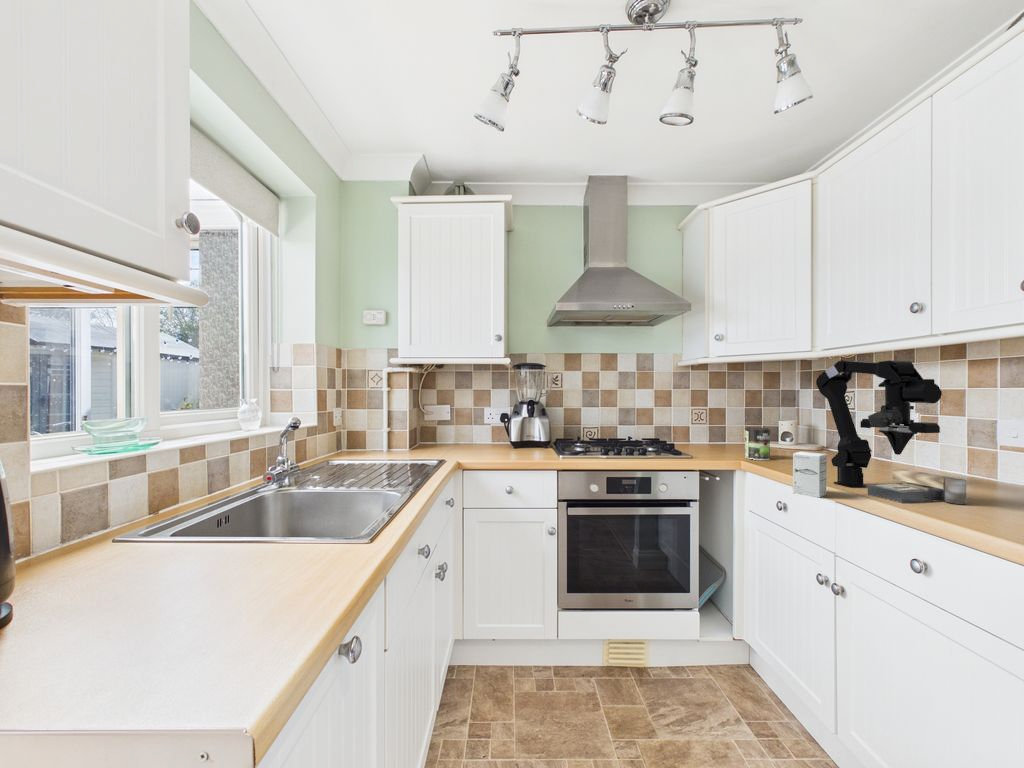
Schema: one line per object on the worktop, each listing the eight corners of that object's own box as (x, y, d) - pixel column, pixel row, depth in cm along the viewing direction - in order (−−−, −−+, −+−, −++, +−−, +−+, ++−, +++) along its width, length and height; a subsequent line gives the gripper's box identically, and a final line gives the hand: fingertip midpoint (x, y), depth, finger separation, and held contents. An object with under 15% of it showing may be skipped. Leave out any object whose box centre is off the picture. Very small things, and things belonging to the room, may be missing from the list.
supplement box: (791, 493, 137) (791, 453, 138) (800, 490, 142) (800, 450, 142) (819, 498, 132) (819, 455, 132) (827, 494, 137) (827, 453, 137)
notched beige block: (970, 503, 125) (970, 480, 125) (958, 504, 124) (958, 481, 124) (903, 489, 142) (903, 469, 142) (892, 490, 141) (892, 469, 141)
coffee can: (775, 460, 200) (775, 429, 201) (755, 461, 198) (755, 429, 198) (758, 456, 211) (758, 427, 211) (739, 457, 208) (739, 427, 209)
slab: (867, 494, 136) (867, 483, 136) (919, 491, 140) (919, 481, 140) (901, 503, 127) (901, 491, 127) (956, 499, 131) (956, 488, 131)
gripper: (845, 401, 140) (846, 450, 140) (909, 403, 122) (909, 460, 122) (874, 401, 142) (874, 449, 142) (941, 403, 124) (941, 459, 124)
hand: (897, 454), depth 133 cm, fingers closed
